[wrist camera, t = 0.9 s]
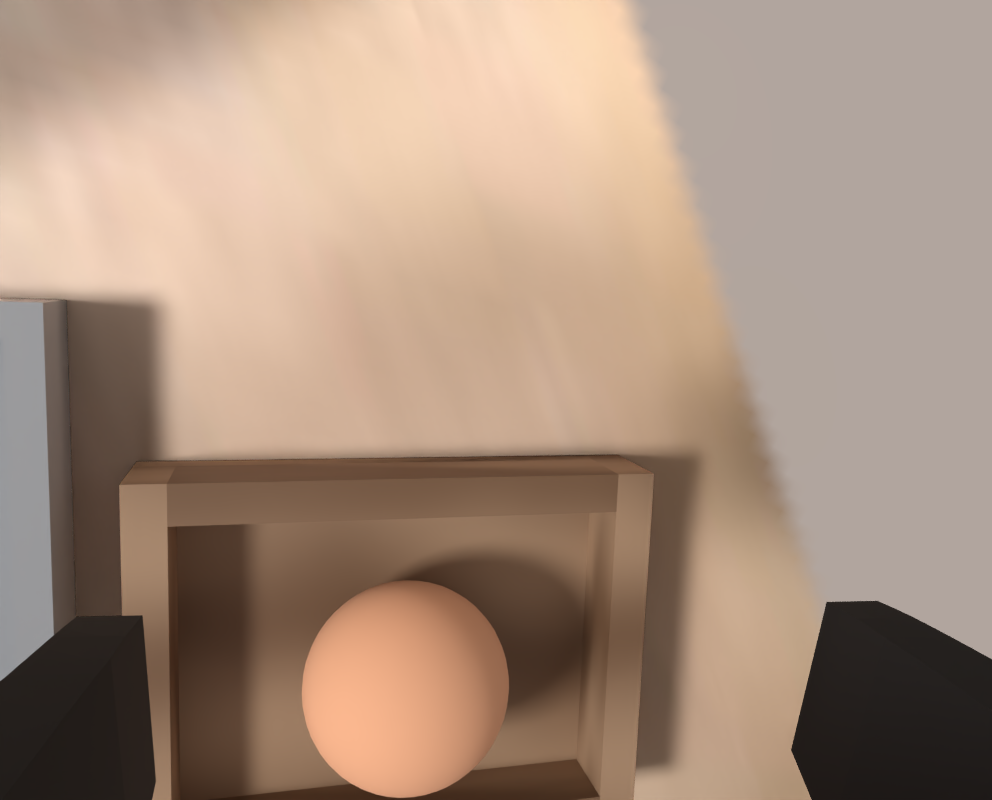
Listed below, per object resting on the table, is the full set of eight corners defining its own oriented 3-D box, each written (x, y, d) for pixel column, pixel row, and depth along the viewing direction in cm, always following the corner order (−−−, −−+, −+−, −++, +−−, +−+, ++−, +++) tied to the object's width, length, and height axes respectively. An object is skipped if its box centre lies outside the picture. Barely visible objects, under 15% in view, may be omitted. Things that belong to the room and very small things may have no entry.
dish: (598, 775, 26) (631, 826, 24) (143, 828, 23) (127, 893, 20) (617, 454, 25) (653, 473, 22) (136, 461, 21) (118, 484, 19)
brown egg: (479, 720, 24) (529, 830, 19) (298, 737, 23) (304, 860, 18) (485, 549, 23) (539, 620, 19) (299, 557, 22) (306, 635, 17)
